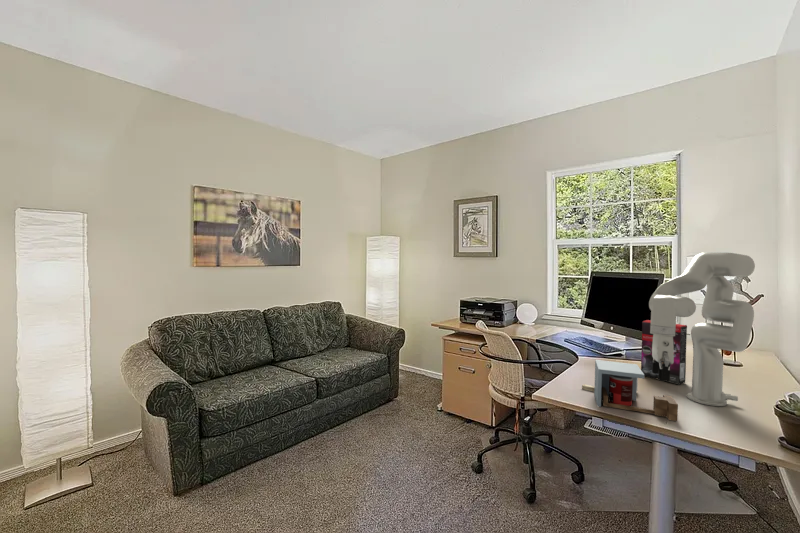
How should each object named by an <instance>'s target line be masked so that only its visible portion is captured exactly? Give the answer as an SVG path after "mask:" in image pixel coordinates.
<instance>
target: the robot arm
mask: <svg viewBox="0 0 800 533" xmlns="http://www.w3.org/2000/svg"><path fill="white" fill-rule="evenodd" d="M755 267H756V264H755V261H754V259H753V258H752V257H751V256H750V255H747V254H740V253H736V252H701V253H698V254H696V255H694V257H693V258H692V259H691V261H690V262H689V263H688V265H687V266H686V268H685V269H684V271H683V272H682V274H680V275H679V276H676V277H673V278H671V279H670V280H668V281H667V280H666V281H665V282H664V283H662V284H659V286H658V287H657V288H656V289H655V291H654V292H653V293H652V294H651V296H650V298H649V301H648V308H649V310H650V311H651V312H650V320H651V326H650V333H651V334H653V343H652V357H653V364H652V373H655V374H658V379H657V380H658V381H661V382H667V381H668V382H667V383H670V382H669V378H670V365H669V363H670V364H673V363H674V345H673V336H675V331H676V324H677V317H678V318H679V317H680V318H688V317H692V316H693V315H694V314H695V312H696V310H697V309H696V308H697V306H696V303H695V301H694V300H693V299H691V298H689V297H687V296H686V297H685V296H680V295H683V294H690V293H694V292H698V291H701V290H703V289H705V288H706V291H705V294H704V299H703V303H702V307H701V316H702V318H704V319H705V320H708V321H710V322H716V323H723V324H730V325H722V324H716V323H710V322H699V323H695V324H694V325H693V326H692V328H691V330H690V337H691V342H692V348H693V350H692V352H693V353H692V355H693V356H692V358H693V359H692V379H691V392H688V393H686V397H687V398H688V399H689V400H690V401H693V402H696V403H699V404H700V405H701V404H703V405H706V406H712V407H725V406H727V405H728V401H732V402H733V401H734V402H737V401H738V400H739V398H738V396H737V395H733V394H731V393H725V392H724V391H723V383H724V382H723V381H724V376H723V375H724V357H723V356H722V354H721V352H720V351H719V350H724V351H727V352H728V351H729V352H735V353H741V352H744V351H746V349H747V347H748V344H749V342H750V336H751V333H752V327H753V323H754V320H755V310H754V307H753V305H752V304H751V303H749V302H747V301H745V300H738V299H736V300H734V299H733V296H734V292H735V289H734V286H733V285H732V283H731V282H730V281H729V280H728V279H727V278H726V277H734V278H735V277H736V278H737V277H738V278H745V277H746V278H747V277H750V276H751V275H752V274H753V272H754V271H755ZM731 325H732V326H731ZM654 362H655V363H654Z"/></svg>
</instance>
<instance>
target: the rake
mask: <svg viewBox="0 0 800 533" xmlns="http://www.w3.org/2000/svg"><path fill="white" fill-rule="evenodd" d="M652 403H653V404H652V409H651V408H645V407H639V406H633V405H631V406H626V405H620V404H613V403H610V402H609V397H608V394H607V391H606V388H605V387H601V404H602V406H603V407H608V408H613V409H621V410H627V411H634V412H640V413H646V414H652V415H653V414H654V415H655V416H659V417H664V418H667V419H668V420H669V421H673V422H678V416H679V415H678V414H679V413H678V412H679V404H678V403H677V401H676V400H675V399H674V398H673V396H672V395H667V394H662V396H657V395H653V402H652Z"/></svg>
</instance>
